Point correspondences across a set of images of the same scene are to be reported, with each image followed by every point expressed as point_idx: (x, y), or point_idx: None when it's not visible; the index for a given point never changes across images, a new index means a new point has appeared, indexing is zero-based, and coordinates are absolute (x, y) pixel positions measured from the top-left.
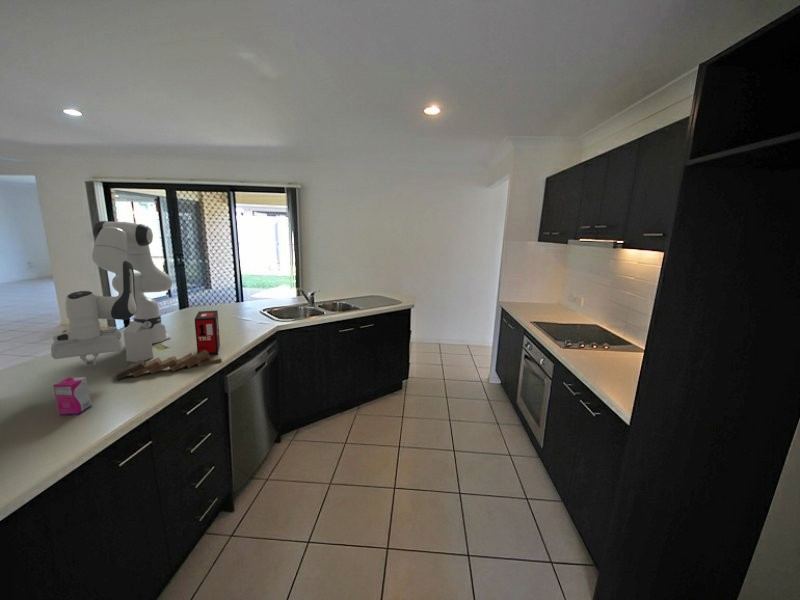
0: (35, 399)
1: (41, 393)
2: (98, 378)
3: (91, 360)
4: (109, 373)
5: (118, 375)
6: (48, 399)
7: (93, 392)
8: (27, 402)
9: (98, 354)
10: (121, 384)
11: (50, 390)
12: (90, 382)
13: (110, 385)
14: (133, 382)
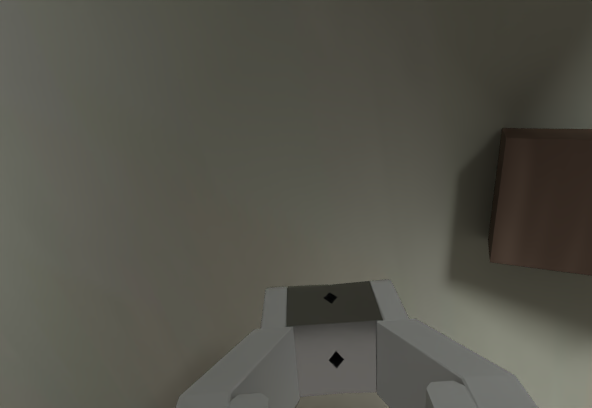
0: (39, 365)
1: (15, 280)
2: (331, 121)
3: (356, 372)
4: (407, 5)
5: (522, 261)
6: (122, 393)
7: (355, 393)
8: (18, 390)
9: (516, 389)
10: (512, 334)
11: (47, 246)
12: (288, 197)
13: (442, 322)
14: (588, 331)
